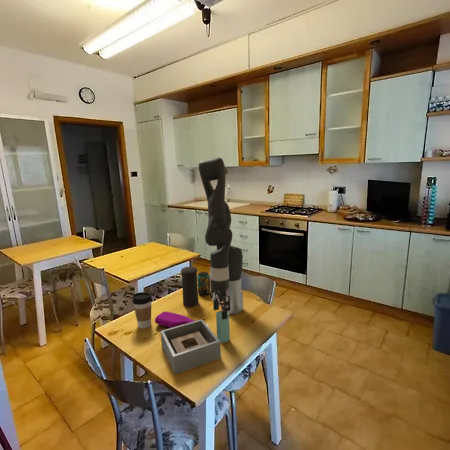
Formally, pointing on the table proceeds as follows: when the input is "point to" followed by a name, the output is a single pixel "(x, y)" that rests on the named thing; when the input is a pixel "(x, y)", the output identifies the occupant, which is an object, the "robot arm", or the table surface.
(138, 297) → the coffee cup
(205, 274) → the beverage can
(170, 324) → the spray bottle
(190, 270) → the container
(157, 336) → the table surface
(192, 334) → the plate
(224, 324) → the peg
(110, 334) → the table surface
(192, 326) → the crate
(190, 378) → the table surface
